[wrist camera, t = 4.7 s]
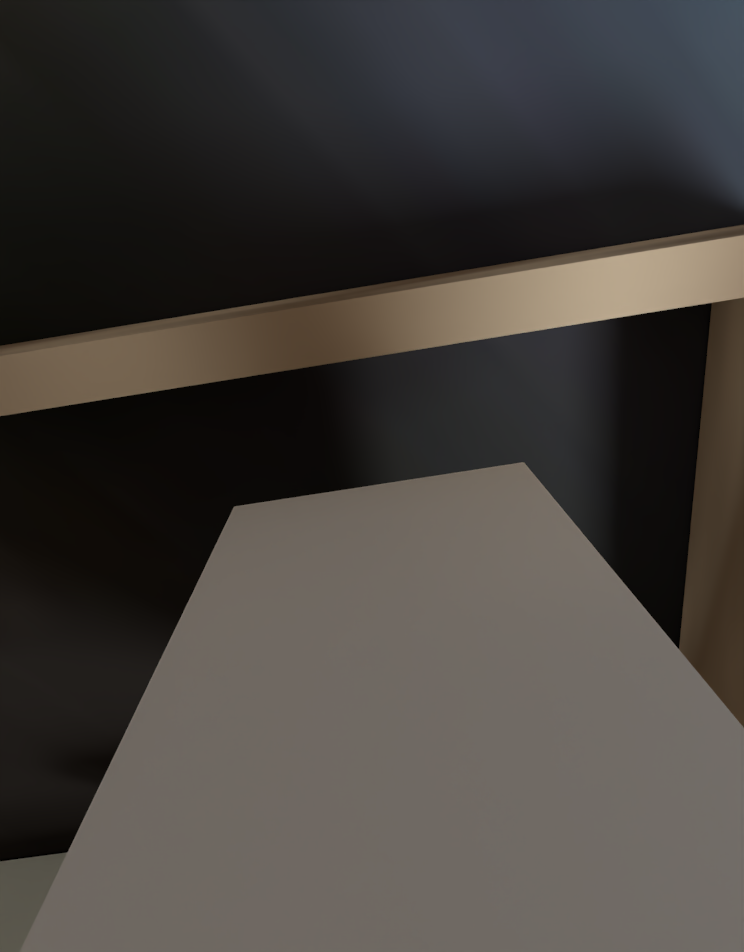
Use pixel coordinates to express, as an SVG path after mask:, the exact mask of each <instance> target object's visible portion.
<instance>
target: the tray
mask: <svg viewBox="0 0 744 952" xmlns="http://www.w3.org/2000/svg"><path fill="white" fill-rule="evenodd" d="M66 854H67V853H59V854H52V855H44V856H37V857H30V858H22V859H15V860H7V861H0V952H20V950H21V948H22V946H23V944H24V942H25V940H26V938H27V935H28V933H29V931H30V929H31V927H32V925H33V923H34V921H35V919H36V917H37V915H38V913H39V911H40V908H41V906H42V904H43V902H44V900H45V898H46V896H47V894H48V892H49V890H50V888H51V886H52V884H53V881H54V879H55V877H56V875H57V873H58V871H59V869H60V867H61V865H62V863H63V861H64V859H65V857H66Z"/></svg>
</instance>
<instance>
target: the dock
mask: <svg viewBox="0 0 744 952" xmlns="http://www.w3.org/2000/svg"><path fill="white" fill-rule="evenodd" d="M707 303H712V307H711V317H710V328H709V338H708V349H707V359H706V370H705V381H704V391H703V402H702V412H701V423H700V433H699V444H698V454H697V465H696V476H695V486H694V497H693V507H692V518H691V528H690V539H689V549H688V560H687V571H686V581H685V592H684V602H683V613H682V623H681V634H680V644H679V650H680V651H681V653H682V654H683V655H684V656H685V657H686V659H687V660H688V661H689V662H690V663H691V665H692V666H693V667H694V668H695V669H696V671H697V672H698V673H699V674H700V675H701V677H702V678H703V679H704V680H705V682H706V683H707V684H708V685H709V686H710V688H711V689H712V690H713V691H714V692H715V694H716V695H717V696H718V697H719V698H720V700H721V701H722V702H723V703H724V704H725V706H726V707H727V708H728V709H729V710H730V712H731V713H732V714H733V715H734V716H735V718H736V719H737V720H738V721H739V723H740V724H741V725H742V726H743V727H744V225H738V226H732V227H726V228H720V229H714V230H707V231H701V232H695V233H689V234H683V235H677V236H671V237H665V238H658V239H652V240H646V241H640V242H634V243H628V244H622V245H616V246H609V247H603V248H597V249H591V250H585V251H579V252H573V253H567V254H560V255H554V256H548V257H542V258H536V259H530V260H524V261H518V262H511V263H505V264H499V265H493V266H487V267H481V268H475V269H469V270H462V271H456V272H450V273H444V274H438V275H432V276H426V277H420V278H413V279H407V280H401V281H395V282H389V283H383V284H377V285H371V286H364V287H358V288H352V289H346V290H340V291H334V292H328V293H322V294H315V295H309V296H303V297H297V298H291V299H285V300H279V301H273V302H266V303H260V304H254V305H248V306H242V307H236V308H230V309H224V310H217V311H211V312H205V313H199V314H193V315H187V316H181V317H175V318H168V319H162V320H156V321H150V322H144V323H138V324H132V325H126V326H119V327H113V328H107V329H101V330H95V331H89V332H83V333H77V334H70V335H64V336H58V337H52V338H46V339H40V340H34V341H28V342H21V343H15V344H9V345H3V346H0V416H4V415H10V414H17V413H23V412H29V411H36V410H42V409H48V408H54V407H61V406H67V405H73V404H79V403H86V402H92V401H98V400H105V399H111V398H117V397H123V396H130V395H136V394H142V393H148V392H155V391H161V390H167V389H174V388H180V387H186V386H192V385H199V384H205V383H211V382H217V381H224V380H230V379H236V378H243V377H249V376H255V375H261V374H268V373H274V372H280V371H286V370H293V369H299V368H305V367H312V366H318V365H324V364H330V363H337V362H343V361H349V360H355V359H362V358H368V357H374V356H381V355H387V354H393V353H399V352H406V351H412V350H418V349H424V348H431V347H437V346H443V345H450V344H456V343H462V342H468V341H475V340H481V339H487V338H493V337H500V336H506V335H512V334H519V333H525V332H531V331H537V330H544V329H550V328H556V327H562V326H569V325H575V324H581V323H588V322H594V321H600V320H606V319H613V318H619V317H625V316H631V315H638V314H644V313H650V312H657V311H663V310H669V309H675V308H682V307H688V306H694V305H700V304H707Z"/></svg>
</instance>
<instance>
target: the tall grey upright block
mask: <svg viewBox="0 0 744 952" xmlns="http://www.w3.org/2000/svg"><path fill="white" fill-rule="evenodd" d="M20 952H744V727H743V726H742V725H741V724H740V723H739V721H738V720H737V719H736V718H735V716H734V715H733V714H732V713H731V712H730V710H729V709H728V708H727V707H726V706H725V704H724V703H723V702H722V701H721V700H720V698H719V697H718V696H717V695H716V694H715V692H714V691H713V690H712V689H711V688H710V686H709V685H708V684H707V683H706V682H705V680H704V679H703V678H702V677H701V675H700V674H699V673H698V672H697V671H696V669H695V668H694V667H693V666H692V665H691V663H690V662H689V661H688V660H687V659H686V657H685V656H684V655H683V654H682V653H681V651H680V650H679V649H678V648H677V647H676V645H675V644H674V643H673V642H672V641H671V639H670V638H669V637H668V636H667V634H666V633H665V632H664V631H663V630H662V628H661V627H660V626H659V625H658V624H657V622H656V621H655V620H654V619H653V618H652V616H651V615H650V614H649V613H648V612H647V610H646V609H645V608H644V607H643V606H642V604H641V603H640V602H639V601H638V599H637V598H636V597H635V596H634V595H633V593H632V592H631V591H630V590H629V589H628V587H627V586H626V585H625V584H624V583H623V581H622V580H621V579H620V578H619V577H618V575H617V574H616V573H615V572H614V571H613V569H612V568H611V567H610V566H609V565H608V563H607V562H606V561H605V560H604V558H603V557H602V556H601V555H600V554H599V552H598V551H597V550H596V549H595V548H594V546H593V545H592V544H591V543H590V542H589V540H588V539H587V538H586V537H585V536H584V534H583V533H582V532H581V531H580V530H579V528H578V527H577V526H576V525H575V523H574V522H573V521H572V520H571V519H570V517H569V516H568V515H567V514H566V513H565V511H564V510H563V509H562V508H561V507H560V505H559V504H558V503H557V502H556V501H555V499H554V498H553V497H552V496H551V495H550V493H549V492H548V491H547V490H546V489H545V487H544V486H543V485H542V484H541V482H540V481H539V480H538V479H537V478H536V476H535V475H534V474H533V473H532V472H531V470H530V469H529V468H528V467H527V466H526V464H525V463H524V462H522V463H515V464H509V465H502V466H496V467H489V468H483V469H476V470H470V471H463V472H456V473H450V474H443V475H437V476H430V477H424V478H417V479H411V480H404V481H398V482H391V483H385V484H378V485H371V486H365V487H358V488H352V489H345V490H339V491H332V492H326V493H319V494H313V495H306V496H300V497H293V498H286V499H280V500H273V501H267V502H260V503H254V504H247V505H241V506H234V508H233V510H232V512H231V514H230V516H229V518H228V520H227V522H226V524H225V526H224V528H223V530H222V532H221V535H220V537H219V539H218V541H217V543H216V545H215V547H214V549H213V551H212V553H211V555H210V557H209V559H208V562H207V564H206V566H205V568H204V570H203V572H202V574H201V576H200V578H199V580H198V582H197V584H196V586H195V589H194V591H193V593H192V595H191V597H190V599H189V601H188V603H187V605H186V607H185V609H184V611H183V613H182V616H181V618H180V620H179V622H178V624H177V626H176V628H175V630H174V632H173V634H172V636H171V638H170V641H169V643H168V645H167V647H166V649H165V651H164V653H163V655H162V657H161V659H160V661H159V663H158V665H157V668H156V670H155V672H154V674H153V676H152V678H151V680H150V682H149V684H148V686H147V688H146V690H145V692H144V695H143V697H142V699H141V701H140V703H139V705H138V707H137V709H136V711H135V713H134V715H133V717H132V719H131V722H130V724H129V726H128V728H127V730H126V732H125V734H124V736H123V738H122V740H121V742H120V744H119V746H118V749H117V751H116V753H115V755H114V757H113V759H112V761H111V763H110V765H109V767H108V769H107V771H106V773H105V776H104V778H103V780H102V782H101V784H100V786H99V788H98V790H97V792H96V794H95V796H94V798H93V800H92V803H91V805H90V807H89V809H88V811H87V813H86V815H85V817H84V819H83V821H82V823H81V825H80V827H79V830H78V832H77V834H76V836H75V838H74V840H73V842H72V844H71V846H70V848H69V850H68V852H67V854H66V857H65V859H64V861H63V863H62V865H61V867H60V869H59V871H58V873H57V875H56V877H55V879H54V881H53V884H52V886H51V888H50V890H49V892H48V894H47V896H46V898H45V900H44V902H43V904H42V906H41V908H40V911H39V913H38V915H37V917H36V919H35V921H34V923H33V925H32V927H31V929H30V931H29V933H28V935H27V938H26V940H25V942H24V944H23V946H22V948H21V950H20Z"/></svg>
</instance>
